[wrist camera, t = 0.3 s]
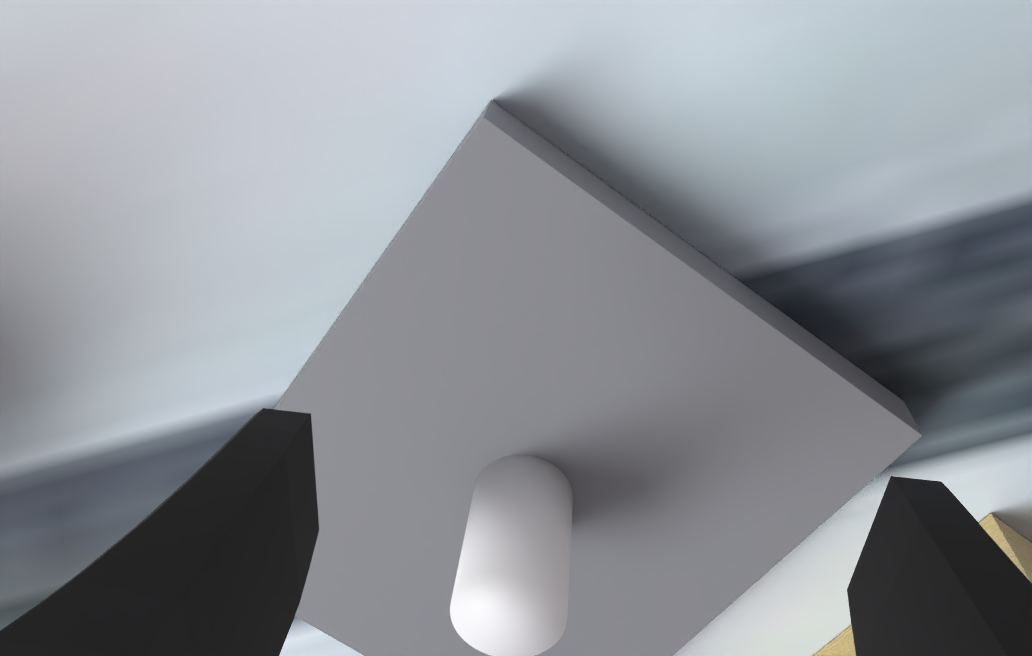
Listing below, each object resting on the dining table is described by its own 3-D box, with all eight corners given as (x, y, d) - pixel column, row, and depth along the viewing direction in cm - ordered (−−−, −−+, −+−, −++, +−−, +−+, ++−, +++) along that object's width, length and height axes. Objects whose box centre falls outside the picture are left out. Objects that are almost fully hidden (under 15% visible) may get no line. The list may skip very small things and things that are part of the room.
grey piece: (553, 718, 28) (543, 900, 23) (200, 513, 26) (105, 667, 21) (903, 401, 23) (986, 553, 18) (491, 99, 20) (455, 179, 15)
